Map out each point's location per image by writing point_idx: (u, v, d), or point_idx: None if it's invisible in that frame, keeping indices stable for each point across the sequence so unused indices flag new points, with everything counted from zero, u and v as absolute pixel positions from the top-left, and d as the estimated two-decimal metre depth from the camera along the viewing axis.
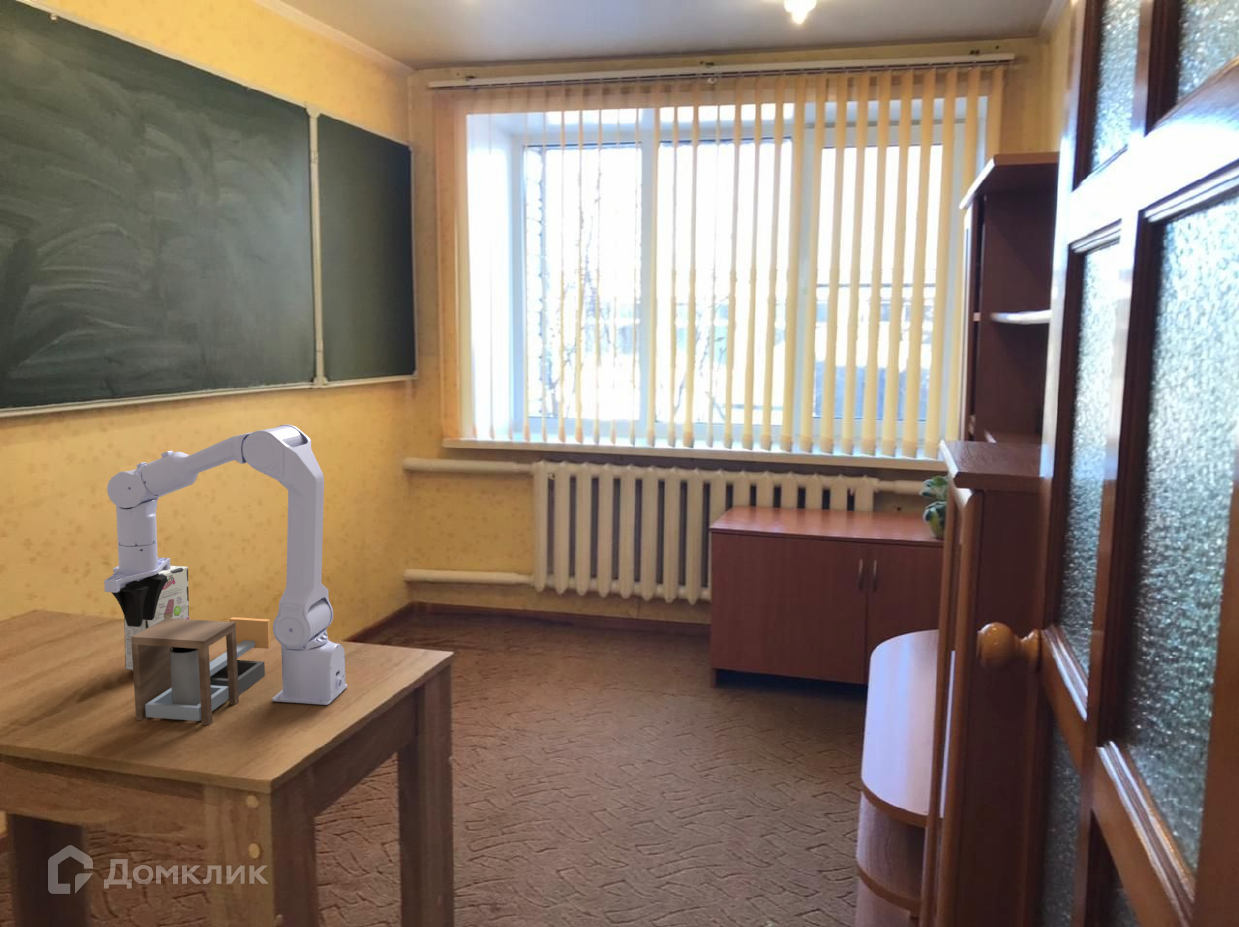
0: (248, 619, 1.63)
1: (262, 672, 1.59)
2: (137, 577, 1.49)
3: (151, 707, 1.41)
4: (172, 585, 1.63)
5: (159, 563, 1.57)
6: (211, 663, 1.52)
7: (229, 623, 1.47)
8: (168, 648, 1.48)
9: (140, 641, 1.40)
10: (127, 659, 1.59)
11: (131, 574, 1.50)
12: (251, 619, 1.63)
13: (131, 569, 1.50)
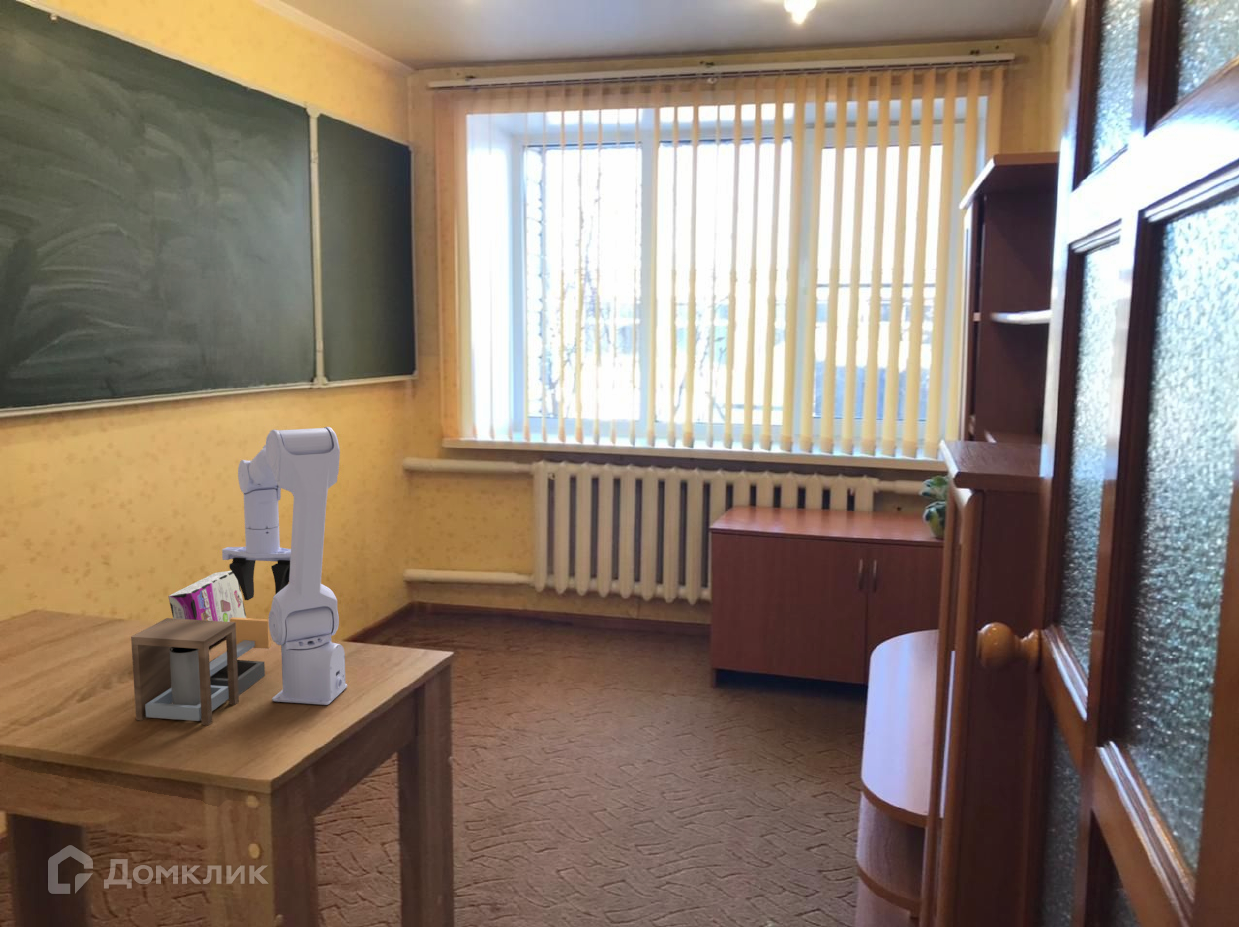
0: (248, 619, 1.63)
1: (262, 672, 1.59)
2: (239, 554, 1.65)
3: (151, 707, 1.41)
4: (237, 604, 1.82)
5: None
6: (211, 663, 1.52)
7: (229, 623, 1.47)
8: (168, 648, 1.48)
9: (140, 641, 1.40)
10: (176, 592, 1.70)
11: (245, 551, 1.67)
12: (251, 619, 1.63)
13: None
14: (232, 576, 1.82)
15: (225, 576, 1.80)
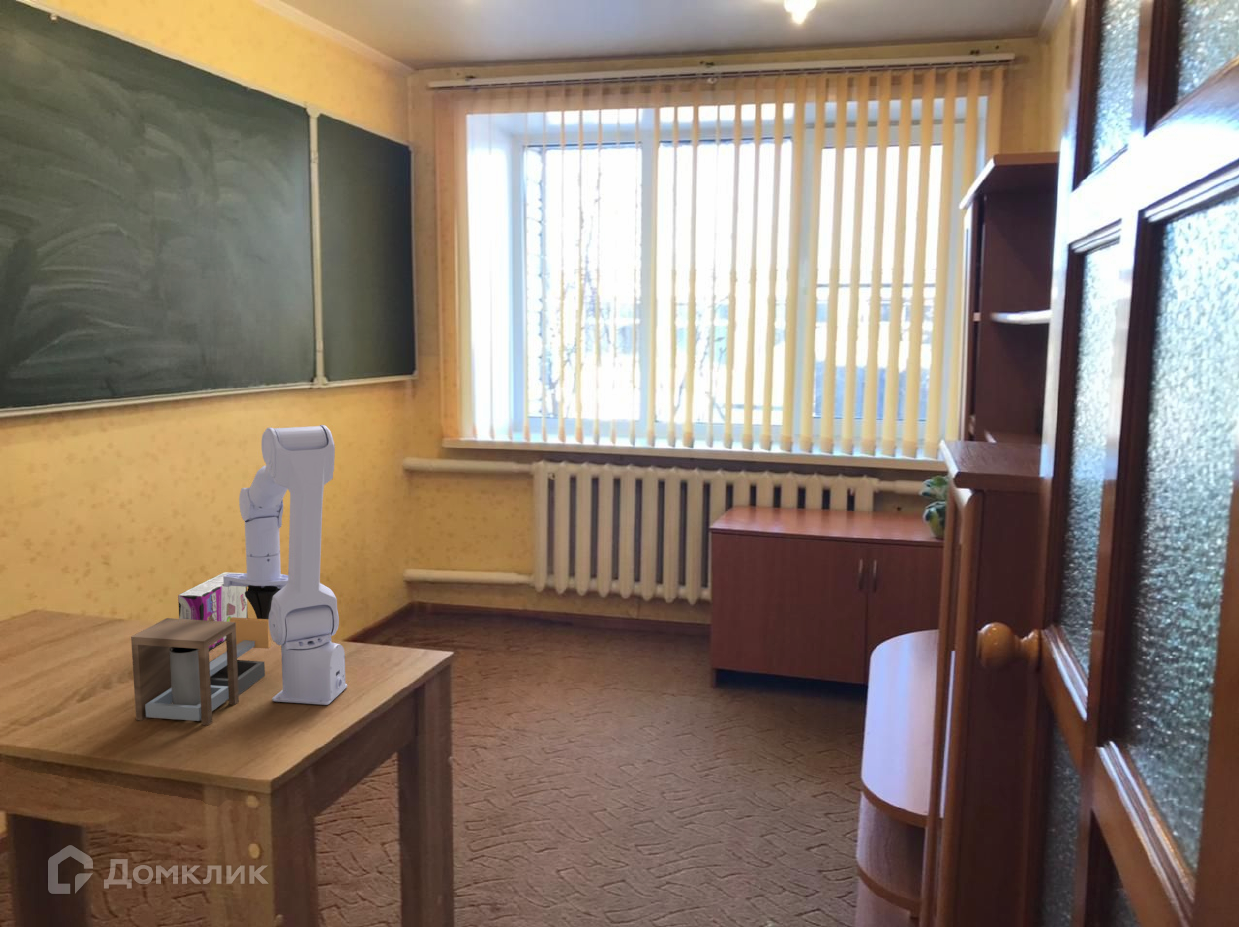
0: (248, 619, 1.63)
1: (262, 672, 1.59)
2: (240, 581, 1.66)
3: (151, 707, 1.41)
4: (241, 608, 1.82)
5: None
6: (211, 663, 1.52)
7: (229, 623, 1.47)
8: (168, 648, 1.48)
9: (140, 641, 1.40)
10: (186, 592, 1.70)
11: (246, 578, 1.67)
12: (251, 619, 1.63)
13: None
14: None
15: None
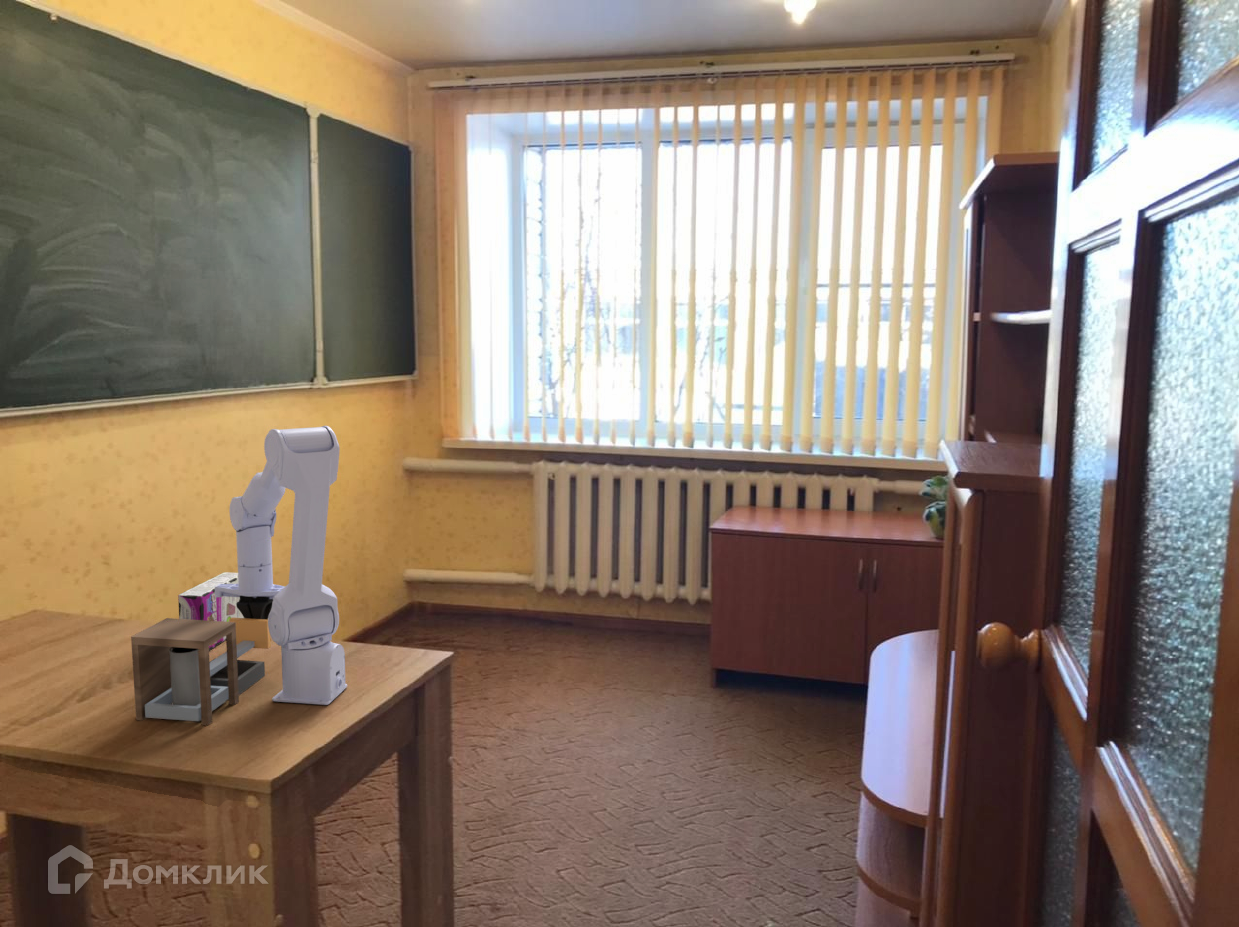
0: (248, 619, 1.63)
1: (262, 672, 1.59)
2: (232, 591, 1.63)
3: (151, 707, 1.41)
4: None
5: None
6: (211, 663, 1.52)
7: (229, 623, 1.47)
8: (168, 648, 1.48)
9: (140, 641, 1.40)
10: (186, 592, 1.70)
11: (238, 588, 1.65)
12: (251, 620, 1.63)
13: None
14: None
15: (235, 579, 1.79)
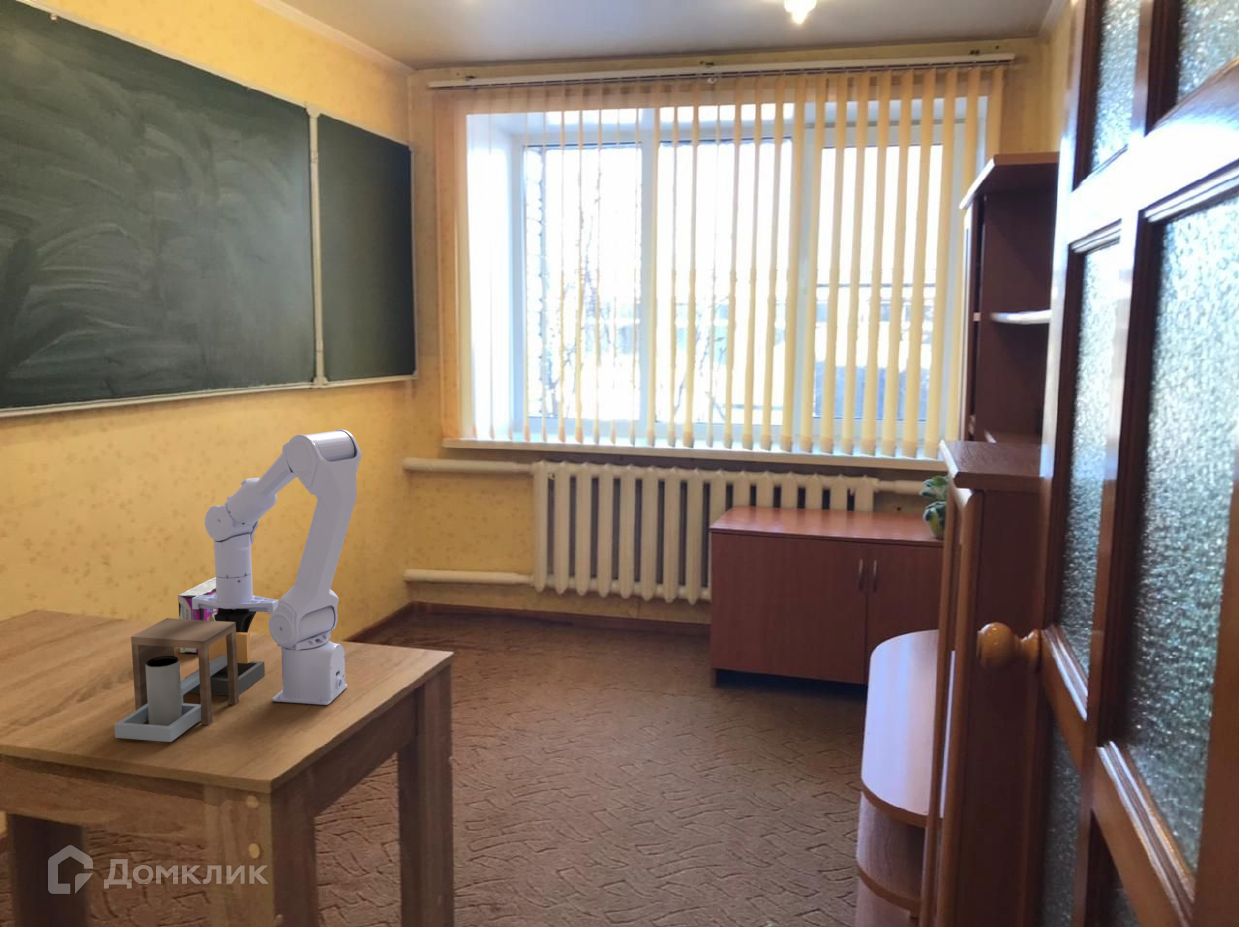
0: None
1: (262, 672, 1.59)
2: (209, 603, 1.56)
3: (121, 727, 1.34)
4: None
5: (257, 603, 1.57)
6: (186, 680, 1.45)
7: (229, 623, 1.47)
8: (168, 648, 1.48)
9: (140, 641, 1.40)
10: (186, 592, 1.70)
11: (216, 600, 1.58)
12: None
13: None
14: None
15: None
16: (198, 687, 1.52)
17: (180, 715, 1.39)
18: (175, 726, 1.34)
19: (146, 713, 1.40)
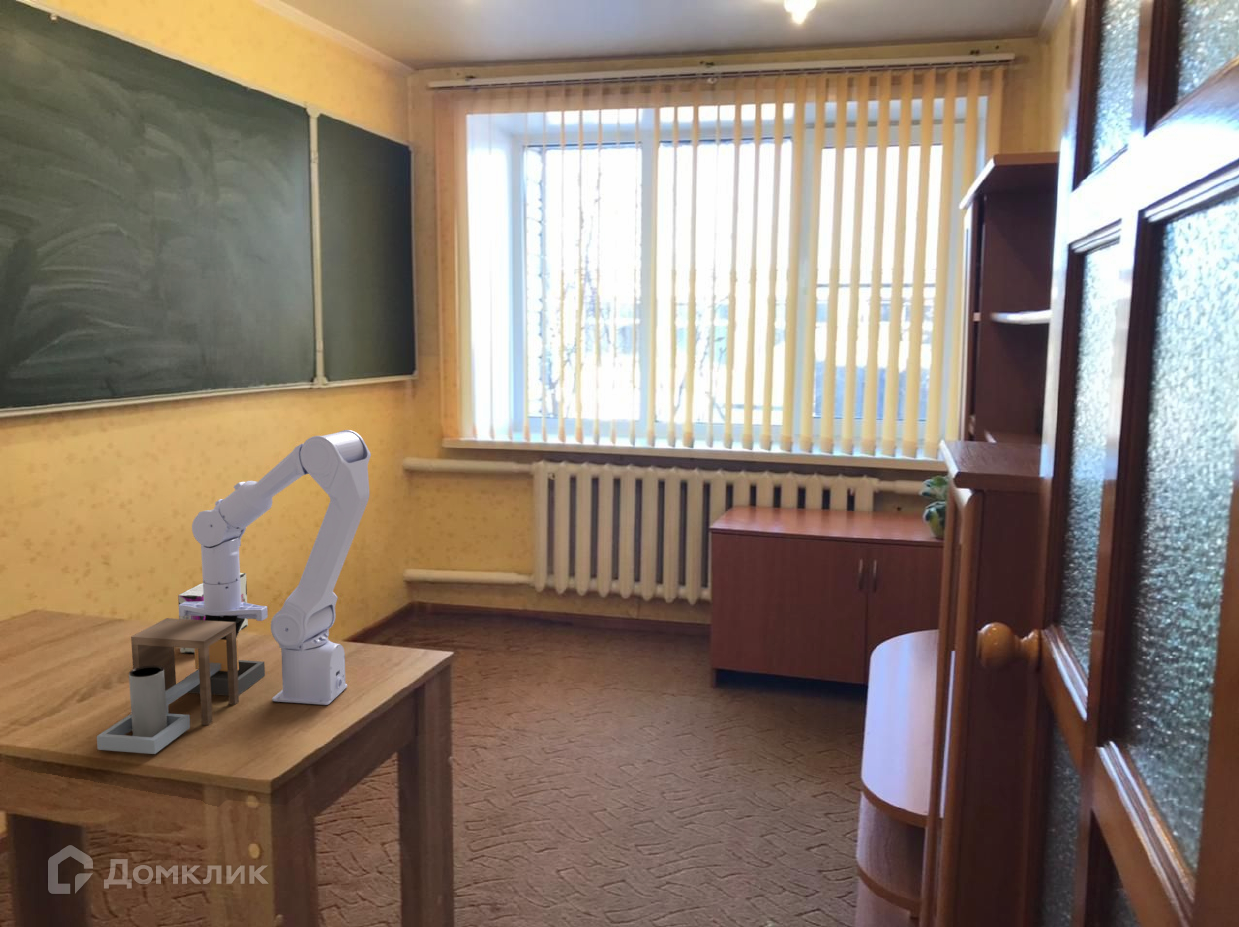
0: None
1: (262, 672, 1.59)
2: (197, 610, 1.53)
3: (103, 739, 1.30)
4: None
5: None
6: (171, 689, 1.41)
7: (229, 623, 1.47)
8: (168, 648, 1.48)
9: (140, 641, 1.40)
10: (186, 592, 1.70)
11: (204, 606, 1.54)
12: (217, 641, 1.52)
13: None
14: (241, 580, 1.82)
15: None
16: (198, 687, 1.52)
17: (165, 726, 1.36)
18: (159, 738, 1.31)
19: (130, 724, 1.37)
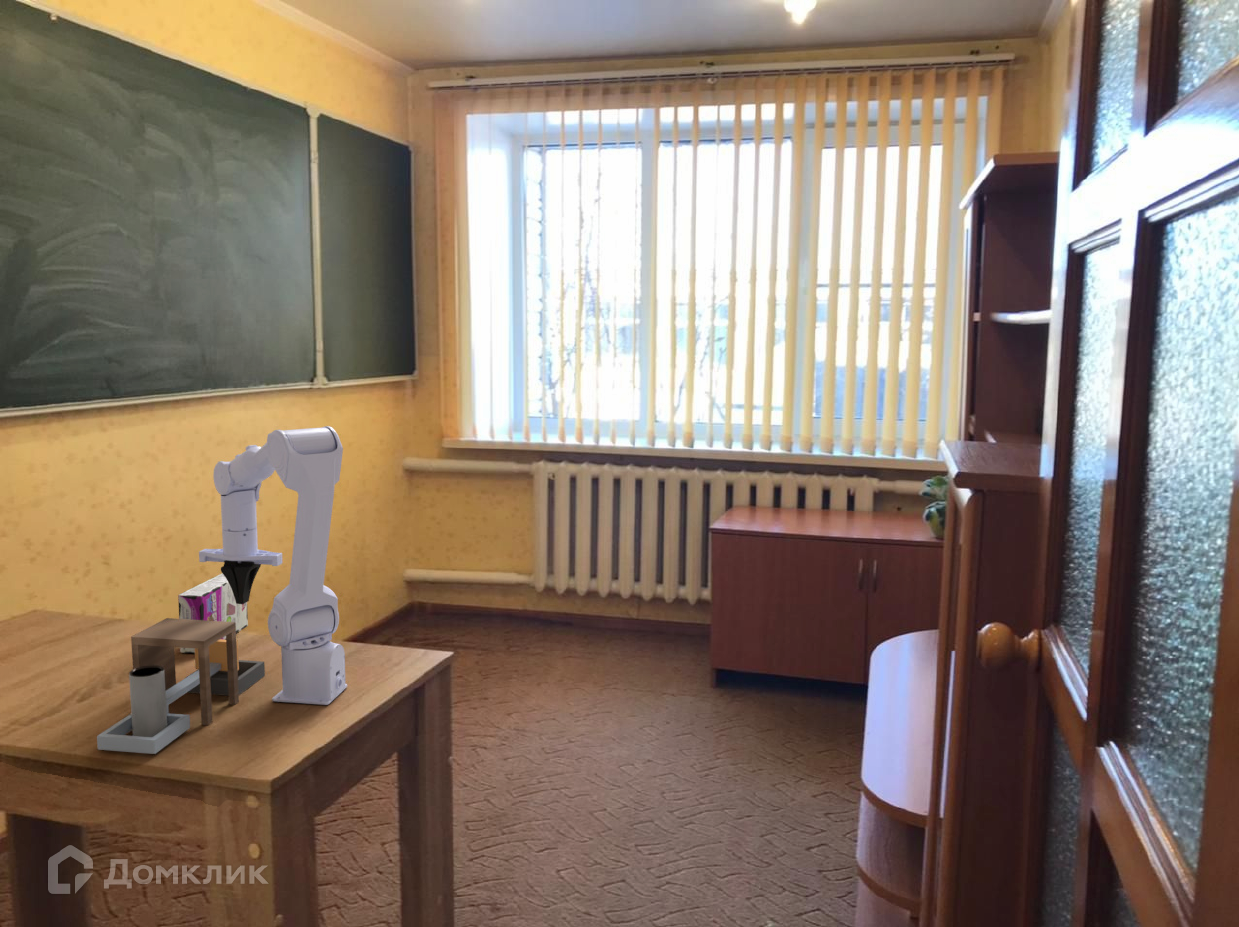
0: None
1: (262, 672, 1.59)
2: (216, 556, 1.63)
3: (103, 739, 1.30)
4: (241, 608, 1.82)
5: None
6: (171, 689, 1.41)
7: (229, 623, 1.47)
8: (168, 648, 1.48)
9: (140, 641, 1.40)
10: (186, 592, 1.70)
11: (222, 553, 1.64)
12: None
13: None
14: None
15: None
16: (198, 687, 1.52)
17: (165, 726, 1.36)
18: (159, 737, 1.31)
19: (130, 723, 1.37)
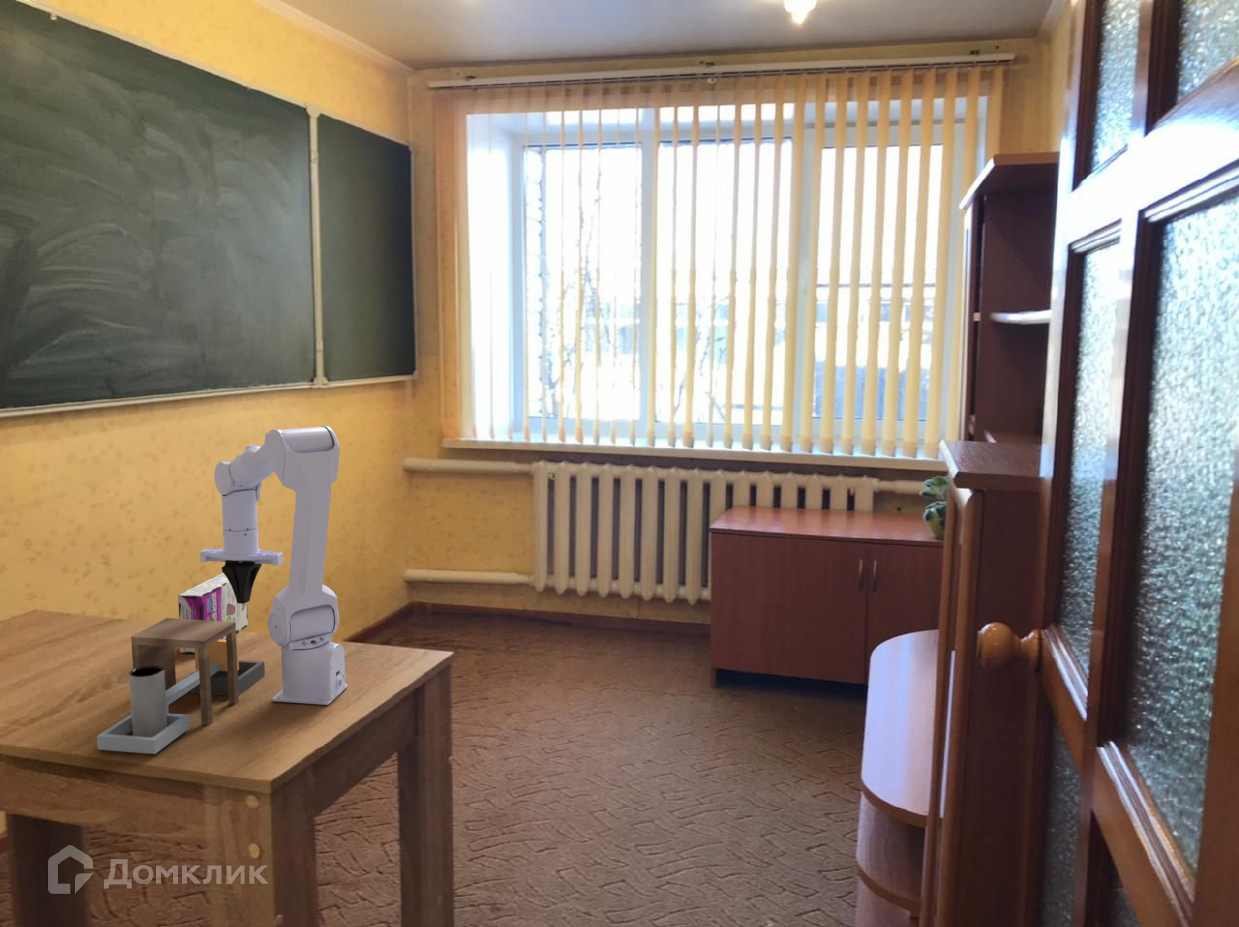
0: None
1: (262, 672, 1.59)
2: (217, 556, 1.64)
3: (103, 739, 1.30)
4: (241, 608, 1.82)
5: None
6: (171, 689, 1.41)
7: (229, 623, 1.47)
8: (168, 648, 1.48)
9: (140, 641, 1.40)
10: (186, 592, 1.70)
11: (223, 553, 1.65)
12: None
13: None
14: None
15: None
16: (198, 687, 1.52)
17: (165, 726, 1.36)
18: (159, 737, 1.31)
19: (130, 723, 1.37)
